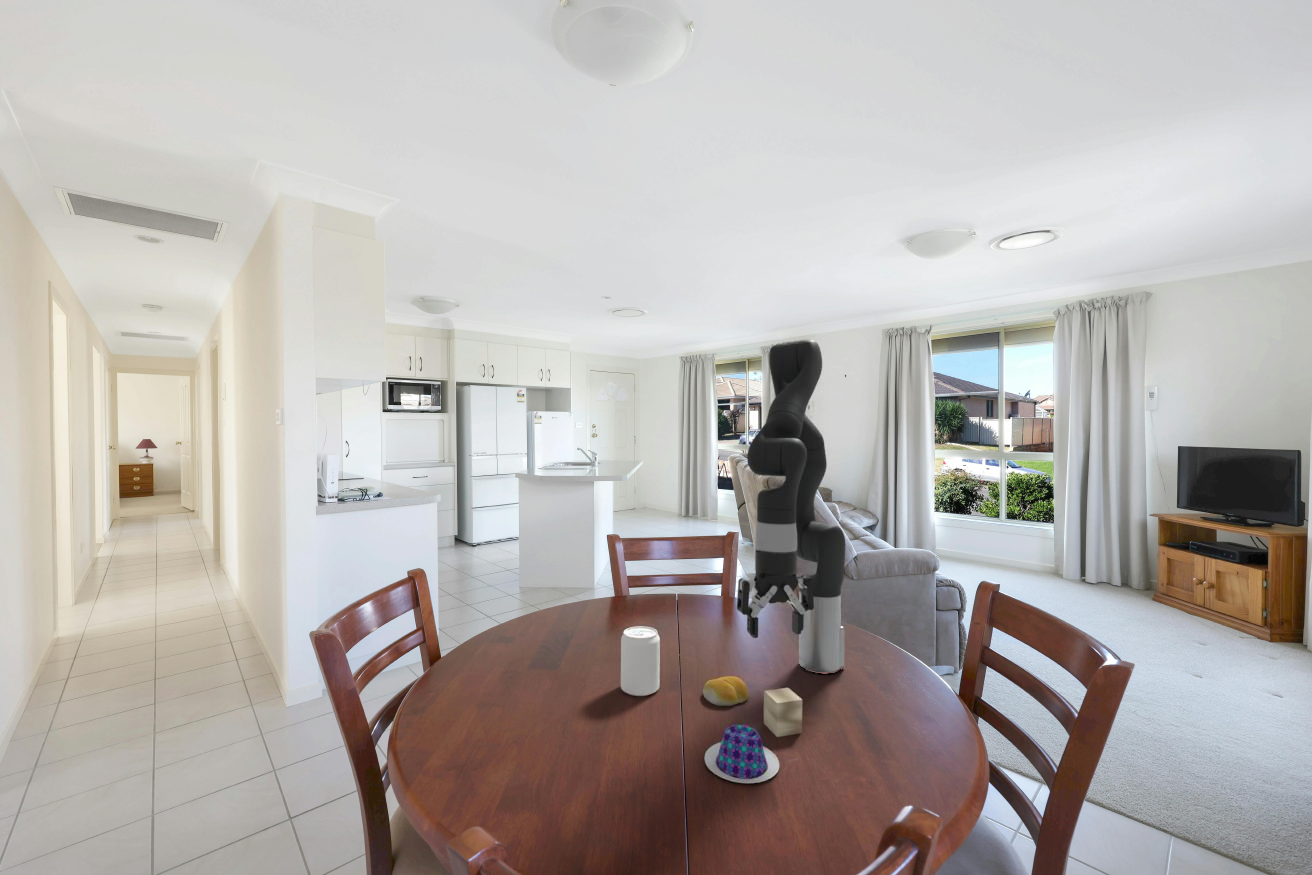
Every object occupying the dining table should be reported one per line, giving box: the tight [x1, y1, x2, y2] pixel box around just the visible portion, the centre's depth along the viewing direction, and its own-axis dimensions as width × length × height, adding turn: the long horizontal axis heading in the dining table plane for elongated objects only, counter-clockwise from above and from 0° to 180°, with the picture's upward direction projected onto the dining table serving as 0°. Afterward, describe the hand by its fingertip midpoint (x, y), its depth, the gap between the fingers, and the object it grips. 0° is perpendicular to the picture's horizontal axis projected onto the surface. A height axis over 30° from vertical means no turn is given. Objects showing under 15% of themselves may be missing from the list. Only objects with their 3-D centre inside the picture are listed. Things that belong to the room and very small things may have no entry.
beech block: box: [763, 687, 803, 738], centre depth 101 cm, size 5×5×6 cm
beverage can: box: [620, 625, 661, 697], centre depth 116 cm, size 8×8×12 cm
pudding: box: [704, 724, 780, 784], centre depth 90 cm, size 12×12×5 cm
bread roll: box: [702, 675, 749, 707], centre depth 113 cm, size 8×9×4 cm
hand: (775, 634), depth 101 cm, fingers open, 8 cm apart
